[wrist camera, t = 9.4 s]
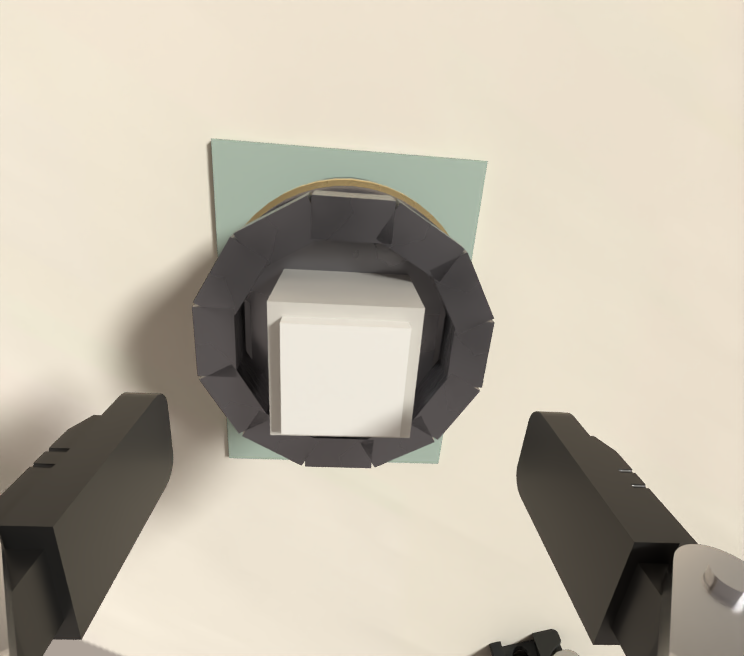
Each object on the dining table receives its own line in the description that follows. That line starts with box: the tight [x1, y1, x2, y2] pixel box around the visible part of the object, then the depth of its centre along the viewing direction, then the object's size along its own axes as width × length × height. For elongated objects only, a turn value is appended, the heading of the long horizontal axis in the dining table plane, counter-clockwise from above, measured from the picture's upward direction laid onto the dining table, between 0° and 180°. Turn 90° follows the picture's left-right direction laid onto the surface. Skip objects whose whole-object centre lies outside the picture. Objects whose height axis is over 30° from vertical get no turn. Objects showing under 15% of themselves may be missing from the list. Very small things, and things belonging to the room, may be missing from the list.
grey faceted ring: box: [192, 177, 494, 468], centre depth 19 cm, size 10×10×10 cm
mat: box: [211, 139, 488, 464], centre depth 24 cm, size 13×18×1 cm
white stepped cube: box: [267, 269, 425, 438], centre depth 14 cm, size 4×4×4 cm
